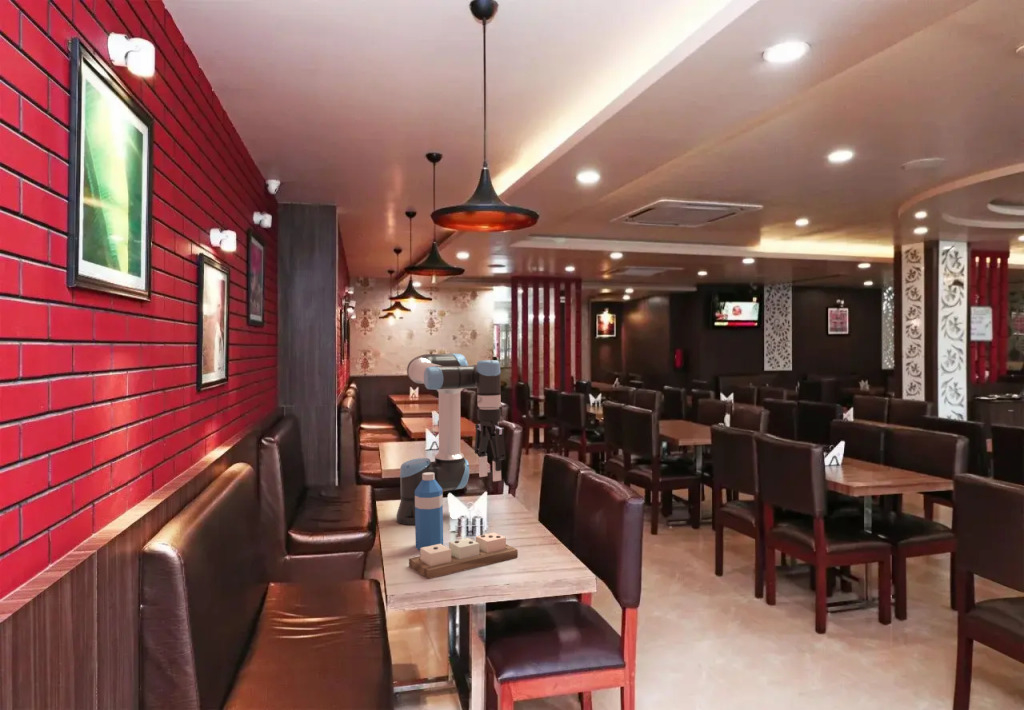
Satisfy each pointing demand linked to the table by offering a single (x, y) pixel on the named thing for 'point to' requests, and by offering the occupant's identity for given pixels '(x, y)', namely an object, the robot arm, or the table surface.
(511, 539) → the table surface
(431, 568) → the wooden dice tray
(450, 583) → the table surface
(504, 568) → the table surface
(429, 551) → the tile one
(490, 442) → the robot arm
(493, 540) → the tile three
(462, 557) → the tile two
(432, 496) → the water bottle
